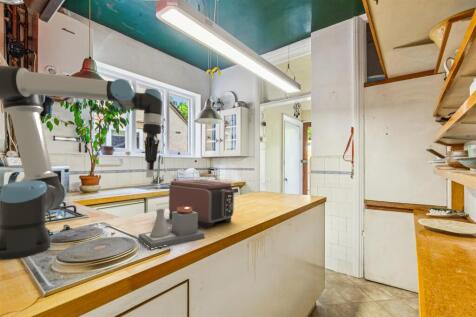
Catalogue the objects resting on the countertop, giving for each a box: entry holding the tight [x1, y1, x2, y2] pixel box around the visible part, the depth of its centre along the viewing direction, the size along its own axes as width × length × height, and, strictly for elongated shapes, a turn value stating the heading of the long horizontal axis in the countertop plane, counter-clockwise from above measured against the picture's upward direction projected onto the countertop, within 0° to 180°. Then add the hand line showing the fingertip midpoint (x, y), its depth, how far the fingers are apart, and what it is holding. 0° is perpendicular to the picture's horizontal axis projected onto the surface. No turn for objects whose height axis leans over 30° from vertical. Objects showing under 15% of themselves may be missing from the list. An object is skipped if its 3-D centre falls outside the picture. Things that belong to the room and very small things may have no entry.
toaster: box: [168, 179, 235, 229], centre depth 127 cm, size 19×36×21 cm, turn 54°
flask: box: [150, 208, 170, 237], centre depth 94 cm, size 7×7×10 cm
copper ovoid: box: [177, 206, 193, 214], centre depth 100 cm, size 6×6×8 cm
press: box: [138, 211, 205, 249], centre depth 97 cm, size 22×14×10 cm, turn 130°
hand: (149, 177), depth 106 cm, fingers closed
